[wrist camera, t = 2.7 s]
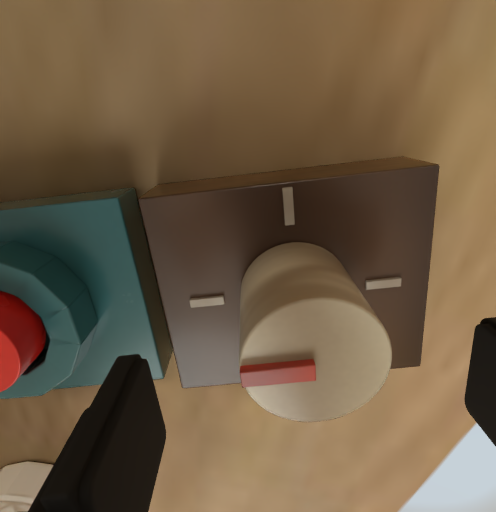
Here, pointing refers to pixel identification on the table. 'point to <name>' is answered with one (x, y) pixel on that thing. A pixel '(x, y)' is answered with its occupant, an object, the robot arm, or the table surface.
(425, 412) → the table surface
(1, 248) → the button block
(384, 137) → the table surface
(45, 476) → the white cup
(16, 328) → the button
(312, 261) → the dial
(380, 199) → the dial panel
